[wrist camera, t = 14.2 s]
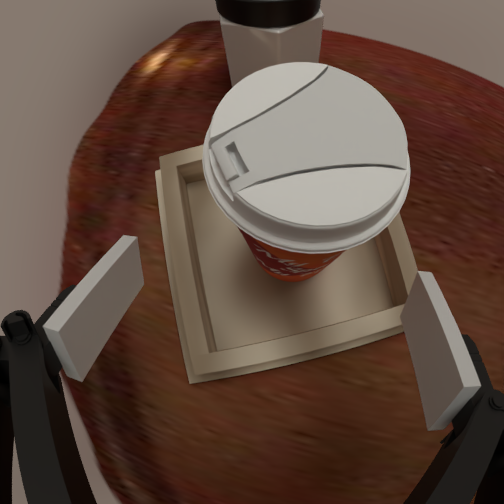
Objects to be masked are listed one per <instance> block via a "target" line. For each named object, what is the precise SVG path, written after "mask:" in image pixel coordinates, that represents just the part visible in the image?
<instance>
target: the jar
mask: <svg viewBox="0 0 504 504" xmlns="http://www.w3.org/2000/svg"><path fill="white" fill-rule="evenodd" d="M215 1H216V6H217V10H218V12H219V15H220V24H221V29H222V35H223V40H224V46H225V51H226V57H227V62H228V68H229V73H230V79H231V84H232V88H233V87H234V86H235V85H236V84H237V83H238V82H240V81H241V80H242V79H244V78H245V77H247V76H249V75H251V74H253V73H254V72H256V71H259V70H262V69H264V68H267V67H270V66H274V65H278V64H284V63H292V62H311V63H318V62H319V54H320V45H321V37H322V28H323V18H324V15H323V13H322V11H321V9H320V1H321V0H215Z"/></svg>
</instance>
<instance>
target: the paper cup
mask: <svg viewBox="0 0 504 504" xmlns="http://www.w3.org/2000/svg"><path fill="white" fill-rule="evenodd" d="M407 145H408V143H407V138H406V133H405V129H404V126H403V123H402V121H401V119H400V118H399V116H398V115H397V113H396V112H395V111H394V109H393V108H392V106H391V105H390V104H389V103H388V101H387V100H386V99H385V98H384V97H383V96H382V95H381V94H380V93H379V92H378V91H377V90H376V89H375V88H373V87H372V86H371V85H370V84H368V83H366V82H365V81H363V80H362V79H360V78H358V77H356V76H354V75H352V74H350V73H347V72H345V71H342V70H340V69H337V68H335V67H332V66H328V65H325V64H319V63H311V62H292V63H284V64H278V65H274V66H270V67H267V68H264V69H262V70H259V71H256V72H254V73H253V74H251V75H249V76H247V77H245V78H244V79H242V80H241V81H240V82H238V83H237V84H236V85H235V86H234V87H233V88H232V89H231V90H230V91H229V92H228V93H227V94H226V95H225V96H224V98H223V99H222V101H221V102H220V103H219V105H218V107H217V109H216V111H215V113H214V115H213V117H212V121H211V125H210V127H209V129H208V131H207V133H206V137H205V141H204V145H203V158H202V162H203V170H204V176H205V179H206V182H207V185H208V188H209V191H210V193H211V194H212V196H213V198H214V200H215V202H216V204H217V205H218V206H219V208H220V209H221V210H222V211H223V213H224V214H225V215H226V216H227V218H228V219H230V220H231V221H232V222H233V223H234V224H235V225H236V226H237V227H238V229H239V230H240V232H241V234H242V235H243V237H244V239H245V240H246V242H247V244H248V246H249V248H250V250H251V251H252V253H253V255H254V257H255V258H256V260H257V262H258V263H259V265H260V266H261V267H262V268H263V269H264V270H265V271H266V272H267V273H268V274H269V275H271V276H272V277H274V278H276V279H279V280H282V281H287V282H299V281H303V280H306V279H309V278H311V277H313V276H315V275H316V274H318V273H319V272H320V271H322V270H323V269H324V268H326V267H327V266H328V265H329V264H331V263H332V262H333V261H334V260H335V259H337V258H338V257H339V256H340V255H341V254H342V253H344V252H345V251H346V250H347V249H350V248H353V247H355V246H358V245H361V244H363V243H365V242H366V241H368V240H370V239H371V238H373V237H375V236H376V235H378V234H379V233H380V232H381V231H382V230H383V229H385V228H386V227H387V226H388V225H389V224H390V223H391V221H392V220H393V219H394V218H395V216H396V215H397V214H398V212H399V211H400V209H401V207H402V205H403V203H404V201H405V198H406V195H407V191H408V188H409V182H410V162H409V155H408V151H407Z"/></svg>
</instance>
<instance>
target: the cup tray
mask: <svg viewBox="0 0 504 504" xmlns="http://www.w3.org/2000/svg"><path fill="white" fill-rule="evenodd" d="M202 158H203V145H201V146H197V147H193V148H189V149H186V150H182V151H178V152H175V153H171V154H168V155H164V156H161V157H159V159H160V169H161V170H158V171H155V175H156V185H157V194H158V203H159V211H160V219H161V227H162V235H163V242H164V249H165V256H166V263H167V269H168V275H169V281H170V288H171V293H172V299H173V305H174V310H175V316H176V321H177V326H178V332H179V337H180V342H181V346H182V351H183V356H184V361H185V365H186V370H187V374H188V379H189V383H190V384H191V383H198V382H204V381H210V380H216V379H222V378H227V377H233V376H238V375H243V374H248V373H253V372H258V371H263V370H267V369H272V368H276V367H281V366H285V365H289V364H294V363H298V362H302V361H306V360H310V359H314V358H318V357H321V356H325V355H329V354H332V353H336V352H340V351H343V350H347V349H350V348H354V347H357V346H360V345H364V344H367V343H370V342H373V341H377V340H380V339H383V338H386V337H389V336H392V335H395V334H398V333H401V332H404V329H403V325H402V322H401V318H400V315H401V313H402V310H403V308H404V305H405V303H406V300H407V298H408V295H409V293H410V290H411V287H412V285H413V282H414V279H415V277H416V274H417V271H418V270H417V266H416V263H415V260H414V256H413V253H412V250H411V247H410V243H409V240H408V237H407V234H406V231H405V228H404V225H403V222H402V219H401V216H400V214H399V212H398V214H397V215H396V216H395V218H394V219H393V220H392V221H391V223H390V224H389V225H388V226H387V227H386V228H385V229H383V230H382V231H381V232H380V233H379V234H378V235H376V236H375V237H373V238H371V239H370V240H368V241H366V242H365V243H363V244H361V245H358V246H355V247H353V248H350V249H347V250H346V251H345V252H344V253H342V254H341V255H340V256H339V257H338V258H337V259H335V260H334V261H333V262H332V263H331V264H329V265H328V266H327V267H326V268H324V269H323V270H322V271H320V272H319V273H318V274H316V275H315V276H313V277H311V278H309V279H306V280H303V281H299V282H287V281H282V280H279V279H276V278H274V277H272V276H271V275H269V274H268V273H267V272H266V271H265V270H264V269H263V268H262V267H261V266H260V265H259V263H258V262H257V260H256V258H255V257H254V255H253V253H252V251H251V250H250V248H249V246H248V244H247V242H246V240H245V239H244V237H243V235H242V234H241V232H240V230H239V229H238V227H237V226H236V225H235V224H234V223H233V222H232V221H231V220H230V219H228V218H227V216H226V215H225V214H224V213H223V211H222V210H221V209H220V208H219V206H218V205H217V204H216V202H215V200H214V198H213V196H212V194H211V193H210V191H209V188H208V185H207V182H206V179H205V176H204V170H203V162H202Z"/></svg>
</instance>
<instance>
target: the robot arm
mask: <svg viewBox="0 0 504 504" xmlns="http://www.w3.org/2000/svg"><path fill="white" fill-rule="evenodd" d="M143 285H144V280H143V273H142V267H141V260H140V253H139V246H138V239H137V237H134V236H125V235H123V236H122V237H121V238H120V239H119V240H118V242H117V243H116V244H115V245H114V246H113V247H112V248H111V249H110V250H109V251H108V252H107V253H106V254H105V255H104V256H103V257H102V258H101V260H100V261H99V262H98V263H97V264H96V265H95V266H94V267H93V268H92V269H91V270H90V272H89V273H88V274H87V275H86V276H85V277H84V278H83V279H82V281H81V282H80V283H79V284H78V285H77V286H76V285H71V286H70V287H68V288H66V289H65V290H63V291H62V292H61V293H60V295H59V296H58V297H57V298H56V300H54V301H53V303H52V304H51V306H49V307H48V309H46V311H45V312H44V313H43V314H42V315H41V317H40V318H39V319H38V320H37V321H36V323H35V324H33V322H32V319H31V317H30V315H29V313H27V312H26V311H23V310H18V311H14V312H12V313H10V314H9V315H7V316H6V317H5V318H4V319H3V321H2V323H1V328H2V330H3V332H4V334H5V335H6V336H0V504H12V460H13V459H12V458H13V443H14V437H15V443H16V450H17V455H18V461H19V467H20V472H21V477H22V481H23V486H24V490H25V494H26V498H27V501H28V504H97V503H96V500H95V498H94V495H93V493H92V490H91V487H90V485H89V482H88V479H87V476H86V473H85V470H84V467H83V464H82V461H81V458H80V455H79V451H78V448H77V445H76V441H75V438H74V434H73V430H72V427H71V423H70V419H69V414H68V410H67V406H66V401H65V397H64V392H63V387H62V382H61V378H60V375H59V371H60V370H61V368H62V367H63V369H64V371H65V373H66V375H67V376H68V377H71V378H73V379H76V380H79V381H83V380H84V378H85V376H86V375H87V373H88V371H89V370H90V368H91V366H92V365H93V363H94V361H95V360H96V358H97V356H98V355H99V353H100V352H101V350H102V348H103V347H104V345H105V343H106V342H107V340H108V339H109V337H110V336H111V334H112V332H113V331H114V329H115V328H116V326H117V324H118V323H119V321H120V320H121V318H122V317H123V315H124V314H125V312H126V311H127V309H128V308H129V306H130V304H131V303H132V301H133V300H134V298H135V297H136V295H137V294H138V292H139V291H140V289H141V288H142V286H143ZM400 318H401V322H402V325H403V329H404V332H405V336H406V339H407V343H408V346H409V350H410V354H411V358H412V362H413V366H414V370H415V374H416V378H417V382H418V387H419V391H420V395H421V400H422V405H423V410H424V415H425V420H426V425H427V430H428V431H430V430H442V429H445V428H446V427H447V426H448V424H449V423H450V422H451V421H452V424H453V428H454V429H453V430H452V431H451V432H450V433H449V434H448V435H447V436H446V437H445V438H444V439H443V440H442V441H441V442H440V443H441V444H442V443H443V442H444V444H443V445H442V447H441V449H440V450H439V452H438V454H437V455H436V457H435V458H434V460H433V462H432V463H431V465H430V466H429V468H428V469H427V471H426V472H425V474H424V475H423V477H422V478H421V480H420V481H419V483H418V484H417V486H416V487H415V488H414V490H413V491H412V493H411V494H410V495H409V497H408V498H407V499H406V501H405V502H404V503H403V504H470V502H471V500H472V499H473V497H474V495H475V493H476V491H477V493H476V497H475V501H474V504H504V394H503V393H501V392H500V391H498V390H494V389H493V387H492V384H491V381H490V379H489V376H488V373H487V371H486V368H485V366H484V363H482V359H481V356H480V355H479V351H478V349H477V347H476V345H475V343H474V342H473V340H472V339H471V338H470V337H469V336H468V335H462V334H461V333H460V331H459V329H458V326H457V324H456V322H455V320H454V318H453V315H452V313H451V311H450V309H449V307H448V305H447V303H446V300H445V298H444V296H443V294H442V292H441V290H440V288H439V286H438V284H437V282H436V280H435V278H434V276H433V275H432V273H431V272H422V271H417V274H416V277H415V279H414V282H413V285H412V287H411V290H410V293H409V295H408V298H407V300H406V303H405V305H404V308H403V310H402V313H401V315H400ZM477 489H478V490H477Z"/></svg>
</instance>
